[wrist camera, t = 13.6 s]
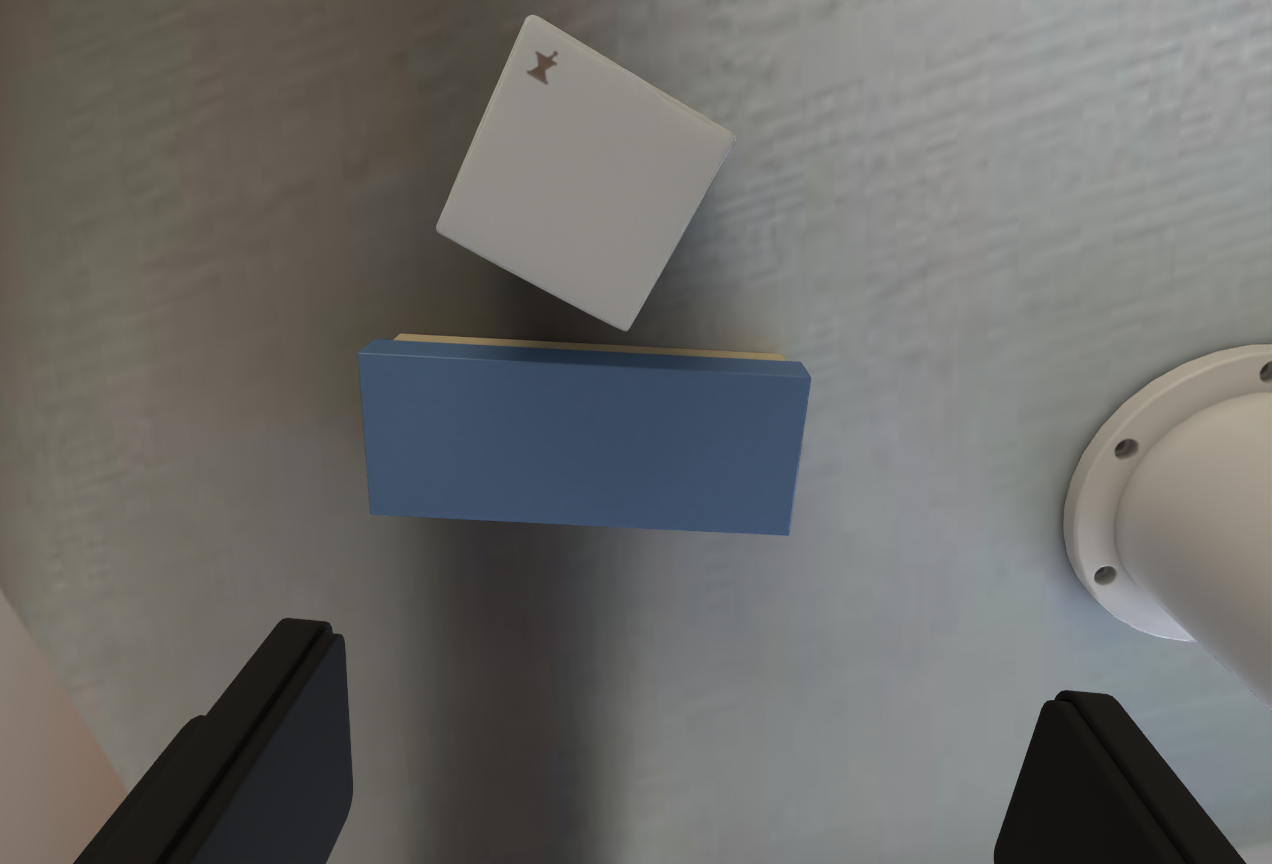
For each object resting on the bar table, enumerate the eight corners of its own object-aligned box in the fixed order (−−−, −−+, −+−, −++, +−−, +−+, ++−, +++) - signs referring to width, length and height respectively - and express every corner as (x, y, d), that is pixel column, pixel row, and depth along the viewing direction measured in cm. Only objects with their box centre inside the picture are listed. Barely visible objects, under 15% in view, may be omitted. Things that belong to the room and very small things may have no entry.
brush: (791, 346, 30) (811, 376, 26) (772, 490, 32) (789, 536, 28) (391, 325, 29) (357, 352, 26) (400, 471, 32) (369, 515, 28)
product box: (478, 203, 28) (425, 229, 21) (556, 34, 26) (525, 2, 19) (631, 287, 29) (628, 338, 22) (717, 131, 27) (743, 134, 20)
